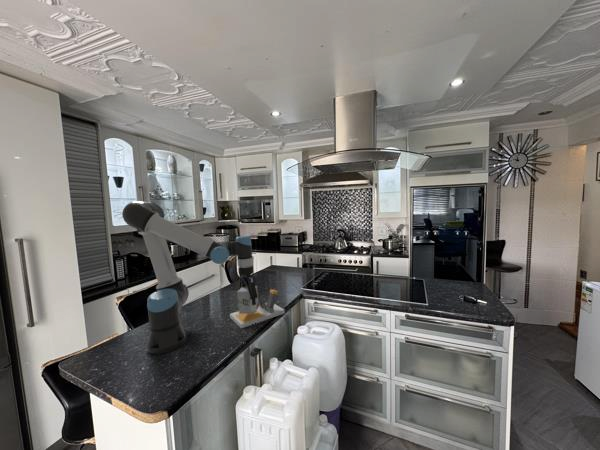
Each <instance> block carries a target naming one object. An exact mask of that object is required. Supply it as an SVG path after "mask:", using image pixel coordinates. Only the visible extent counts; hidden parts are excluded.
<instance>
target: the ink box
mask: <svg viewBox="0 0 600 450" xmlns="http://www.w3.org/2000/svg"><path fill="white" fill-rule="evenodd" d="M255 287H256V291H257V296H258V295H259V292H258V285H255ZM240 288H241V287H240ZM236 294H237V295H236V297H237V306H238V311H239V314H250V313H255V312H256V311H257V309H258V307H259V303H258V298H256V311H252V312H251V306H250V298H251V297H250V294H249V291H248V288H247V287H246V286H245V287H242V288H241V289H240V290H239V289H238V290H237V292H236Z"/></svg>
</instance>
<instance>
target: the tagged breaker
mask: <svg viewBox="0 0 600 450" xmlns="http://www.w3.org/2000/svg"><path fill="white" fill-rule="evenodd" d="M277 295H278V290H275V289H271V288H270V289H269V294H268V297H267V301H266V303H267V304H266V309H267V310H269V309H271V308H273V307H274V304H276V299H277Z"/></svg>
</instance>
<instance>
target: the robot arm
mask: <svg viewBox="0 0 600 450" xmlns="http://www.w3.org/2000/svg"><path fill="white" fill-rule="evenodd" d="M121 213H122V214H121V215H122V219H123V220H124V222H125V223H126V224H127V225H128V226H129V227H131V228H134V229H136V231H137V233H138V234H139V235H141V236H142V238H143V241H144V243H145V247H146V250H147V252H148V255H149V259H150V261H151V265H152V267H153V271H154V274H155V277H156V280H157V282H158V283H157V285H156V287H155V289H156V291H154V292H152V293H151V294H150V295H148V297H147V300H146V301H147V303H146V308H147V313H148V314H147V315H148V323H149V331H150V332H149V335H148V339H147V344H146V348H147V349H146V350H147V351H146V352H147V353H149V354H152V355H164V354H168V353H170V352H173V351H175V350H177V349H179V348H181V347H182V346H183V345H184V344H185V343H186V341H187V335H186V332H185V330H184V328H183V326H182V325H181V319H180V310H181V308H182V307H183V306H184V305H185V304H186V302H187V301H188V299H189V298H188V297H189V295H190V294H189V293H190V292H189V288H188V286H187V285H186V283H184V281H183V279H182V278H181V277H180V276H178V274H177V271H176V268H175V264H174V261H173V258H172V255H171V251H170V249H169V246H168V243H167V241H169V242H172V243H175V244H177V245H179V246H181V247H184V248H186V249H188V250H189V251H192V252H194V253H197V254H199V255H202V256H203V257H206V258H209V259H210V260H211V261H212V263H214V264H217V265H218V264H219V265H221V264H224V263H225V262H227V261H228V259H229V257H236V256H237V257H236V258H237V259H236V260H237V267H238V269H237V271H238V272H237V273H238V275H239V279H238V280H239V281H238V291H239V290H240V289H241V288H242V287H245V286H246V287H247V288H248V291H249V294H250V297H251V298H250V306H251V312H252V311H256V298H258V296H257V292H258V290H257V291H256V287H255V286H256V283H255V277H252V274H253V273H254V264H253V262H254V261H253V260H254V258H253V249H252V247H253V246H252V245H253V244H252V239H251V236H249V235H242V236H241V235H240V236H237V237H235V240H233V241H221V242H220V241H218V242H217V241H214V240H212V239H209V238H207V237H206V236H203V235H201V234H199V233H196V232H195V231H192V230H190V229H189V228H188V229H187V228H186V227H183V226H181V225H179V224H177V223H176V222H175V223H174V222H172V221H170V220H168V219H166V218H165V211H164V209H163V207H162V206H160V205H159V204H158V203H155V202H152V201H140V200H138V201H137V200H135V201H132V202H130V203H127V204H126V205H125V206H124V208H123V210H122V211H121Z"/></svg>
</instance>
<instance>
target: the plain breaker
mask: <svg viewBox="0 0 600 450" xmlns="http://www.w3.org/2000/svg"><path fill="white" fill-rule="evenodd" d="M258 303H259V305H261V306H262V304H263V303H265V302H264V300H263V299H262V298H261V296H260V295H259V294H258Z"/></svg>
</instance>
